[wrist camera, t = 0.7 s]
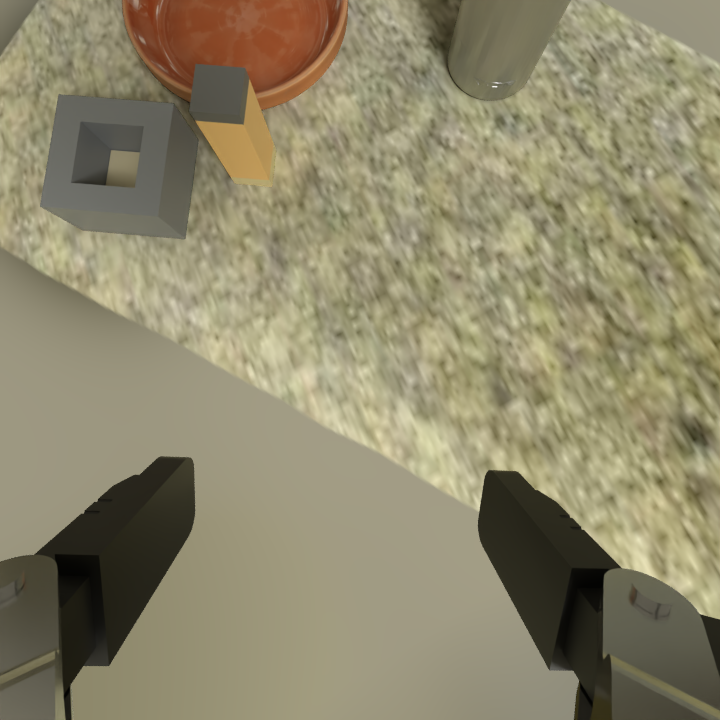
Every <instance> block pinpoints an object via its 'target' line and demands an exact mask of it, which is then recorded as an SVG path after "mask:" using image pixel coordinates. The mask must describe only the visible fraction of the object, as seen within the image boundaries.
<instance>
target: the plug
mask: <svg viewBox="0 0 720 720" xmlns="http://www.w3.org/2000/svg"><path fill="white" fill-rule="evenodd" d="M189 112H190V114H191V115H192V117H193V118H194V120H195V121H196V123H197V125H198V126H199V128H200V129H201V131H202V133H203V134H204V136H205V137H206V139H207V140H208V142H209V144H210V145H211V147H212V148H213V150H214V151H215V153H216V155H217V156H218V158H219V159H220V161H221V162H222V164H223V166H224V167H225V169H226V170H227V172H228V174H229V175H230V177H231V178H232V180H233V181H234V183H235V184H244V185H256V186H268V187H272V184H273V176H274V167H275V158H276V149H275V146H274V143H273V141H272V138H271V135H270V133H269V130H268V127H267V125H266V122H265V119H264V117H263V114H262V111H261V108H260V106H259V103H258V100H257V98H256V95H255V92H254V90H253V87H252V84H251V82H250V79H249V76H248V73H247V71H246V68H243V67H230V66H217V65H204V64H195V71H194V79H193V86H192V93H191V101H190V108H189Z"/></svg>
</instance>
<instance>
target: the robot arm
mask: <svg viewBox="0 0 720 720" xmlns="http://www.w3.org/2000/svg"><path fill="white" fill-rule="evenodd" d="M570 1H571V0H461V4H460V8H459V12H458V16H457V20H456V24H455V28H454V32H453V36H452V40H451V44H450V48H449V52H448V68H449V71H450V74H451V77H452V78H453V80H454V81H455V83H456V84H457V85H458V86H459V87H460V88H461V89H462V90H463V91H464V92H466V93H467V94H469V95H471V96H473V97H476V98H478V99H483V100H499V99H503V98H507V97H509V96H511V95H513V94H515V93H516V92H518V91H519V90H520V89H521V88H522V87H523V86H524V85H525V84H526V83H527V81H528V79H529V77H530V75H531V73H532V72H533V70H534V68H535V66H536V64H537V62H538V60H539V59H540V57H541V55H542V53H543V51H544V49H545V47H546V46H547V44H548V42H549V40H550V38H551V37H552V35H553V33H554V31H555V29H556V27H557V25H558V23H559V22H560V20H561V18H562V16H563V14H564V12H565V10H566V8H567V7H568V5H569V3H570ZM194 489H195V487H194V464H193V460H192V459H191V458H189V457H163V456H161V457H159V458H157V459H156V460H155V461H154V462H153V463H152V464H151V465H150V466H149V467H147V468H146V469H145V470H144V471H143V472H142V473H141V474H140V475H133V476H131V477H129V478H127V479H125V480H124V481H121V482H120V483H118V484H116V485H114V486H112V487H111V488H110V489H109V490H108V491H107V492H106V493H104V494H103V495H102V496H101V497H100V498H99V499H98V501H97V502H94V503H93V504H92V505H91V506H89V507H88V508H87V509H86V510H85V512H84V514H81V515H79V516H78V517H77V518H76V519H75V520H74V521H72V522H71V523H70V524H69V525H68V526H67V527H65V529H63V530H62V531H61V532H60V533H59V534H57V535H56V536H55V537H54V538H53V539H52V540H50V541H49V542H48V543H47V544H46V545H45V546H44V547H42V548H41V549H40V550H39V551H38V552H37V553H36V554H34V555H26V556H19V557H14V558H11V559H7V560H4V561H1V562H0V720H73V701H72V689H71V683H72V682H73V680H74V679H75V677H76V676H77V674H78V673H79V672H80V670H81V669H82V667H83V666H109V665H110V664H111V662H112V660H113V659H114V657H115V655H116V654H117V652H118V651H119V649H120V647H121V646H122V644H123V642H124V641H125V639H126V637H127V636H128V634H129V633H130V631H131V629H132V628H133V626H134V624H135V623H136V621H137V619H138V618H139V616H140V615H141V613H142V611H143V610H144V608H145V607H146V605H147V603H148V602H149V600H150V598H151V597H152V595H153V593H154V592H155V590H156V589H157V587H158V585H159V584H160V582H161V580H162V579H163V577H164V576H165V574H166V572H167V571H168V569H169V567H170V566H171V564H172V563H173V561H174V559H175V557H176V556H177V554H178V553H179V551H180V549H181V548H182V546H183V545H184V543H185V541H186V540H187V538H188V536H189V534H190V532H191V530H192V526H193V523H194V517H195V490H194ZM478 531H479V537H480V541H481V544H482V546H483V548H484V550H485V552H486V553H487V555H488V557H489V559H490V561H491V563H492V565H493V566H494V568H495V570H496V572H497V574H498V576H499V577H500V579H501V581H502V583H503V585H504V587H505V589H506V590H507V592H508V594H509V596H510V598H511V600H512V602H513V603H514V605H515V607H516V609H517V611H518V613H519V615H520V616H521V619H522V620H523V622H524V624H525V626H526V628H527V629H528V631H529V633H530V635H531V637H532V639H533V641H534V642H535V645H536V646H537V648H538V650H539V652H540V654H541V656H542V657H543V659H544V661H545V663H546V665H547V667H548V669H549V670H572V671H574V672H575V674H576V676H577V677H578V679H579V683H578V687H577V692H576V699H575V711H574V720H720V620H719V619H716V618H712V617H708V616H704V615H700V614H699V613H698V611H697V610H696V608H695V607H694V606H693V605H692V604H691V603H690V602H689V601H688V600H687V599H686V598H685V597H684V596H682V595H681V594H680V593H679V592H677V591H676V590H674V589H673V588H672V587H670V586H668V585H667V584H665V583H663V582H662V581H660V580H658V579H656V578H654V577H651V576H649V575H647V574H644V573H641V572H638V571H634V570H630V569H622V568H621V567H620V566H619V565H618V564H617V563H616V562H615V561H614V560H613V559H612V558H611V557H610V556H609V555H608V554H607V553H606V552H605V551H604V550H603V549H602V548H601V547H600V546H599V545H598V544H597V543H596V542H595V541H594V540H593V539H592V538H591V537H590V536H589V535H588V534H587V533H586V532H585V530H581V526H580V525H579V524H578V523H577V522H576V521H575V520H574V519H573V518H570V515H569V514H568V513H567V512H566V511H565V510H564V509H563V508H562V507H561V506H560V505H559V504H558V503H557V502H556V501H554V500H552V499H551V498H549V497H548V496H546V495H544V494H543V493H541V492H540V491H538V490H535V489H534V488H533V487H532V486H531V485H530V484H529V483H528V482H527V481H526V480H525V479H524V478H523V477H522V476H521V474H520V473H518V472H517V471H497V470H489V471H488V472H487V473H486V475H485V479H484V485H483V492H482V498H481V505H480V511H479V518H478Z"/></svg>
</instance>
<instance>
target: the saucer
mask: <svg viewBox="0 0 720 720" xmlns="http://www.w3.org/2000/svg"><path fill="white" fill-rule="evenodd" d="M122 9H123V16H124V21H125V25H126V29H127V32H128V34H129V37H130V39H131V41H132V43H133V45H134V47H135V49H136V51H137V53H138V54H139V56H140V57H141V59H142V60H143V61H144V63H145V64H146V65H147V67H148V68H149V69H150V71H151V72H152V73H153V75H154V76H155V77H156V78H157V79H158V80H159V81H160V82H161V83H162V84H163V85H164V86H165V87H167V88H168V89H169V90H170V91H172V92H173V93H175V94H176V95H178V96H179V97H181V98H183V99H184V100H186V101H188V102H190V101H191V93H192V86H193V79H194V71H195V64H204V65H217V66H230V67H243V68H246V71H247V73H248V76H249V79H250V82H251V84H252V87H253V90H254V92H255V95H256V98H257V100H258V103H259V106H260V108H261V110H263V109H267V108H270V107H274V106H277V105H279V104H282V103H284V102H287V101H289V100H291V99H293V98H294V97H296V96H298V95H299V94H301V93H303V92H304V91H305V90H307V89H308V88H309V87H311V86H312V85H313V84H314V83H315V82H316V81H317V80H318V79H319V78H320V77H321V76H322V75H323V74H324V73H325V72H326V70H327V69H328V68H329V66H330V65H331V63H332V62H333V60H334V59H335V57H336V55H337V53H338V51H339V49H340V46H341V44H342V41H343V38H344V35H345V30H346V26H347V17H348V0H122Z"/></svg>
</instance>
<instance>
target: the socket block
mask: <svg viewBox="0 0 720 720" xmlns="http://www.w3.org/2000/svg"><path fill="white" fill-rule="evenodd" d="M197 148H198V139H197V137H196V136H195V134H194V133H193V131H192V130H191V128H190V127H189V125H188V124H187V122H186V121H185V119H184V118H183V116H182V115H181V113H180V112H179V110H178V109H177V107H176V106H175V105H174V103H163V102H150V101H138V100H125V99H112V98H99V97H86V96H73V95H61V94H59V95H58V101H57V107H56V113H55V119H54V126H53V132H52V138H51V144H50V150H49V156H48V162H47V168H46V174H45V180H44V186H43V192H42V198H41V204H40V207H42V208H44V209H45V210H47V211H49V212H51V213H53V214H54V215H56V216H58V217H60V218H62V219H63V220H65V221H67V222H69V223H71V224H72V225H74V226H76V227H78V228H80V229H81V230H85V231H96V232H108V233H120V234H131V235H143V236H155V237H166V238H178V239H185V238H186V230H187V223H188V215H189V208H190V200H191V193H192V185H193V178H194V170H195V163H196V155H197Z"/></svg>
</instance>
